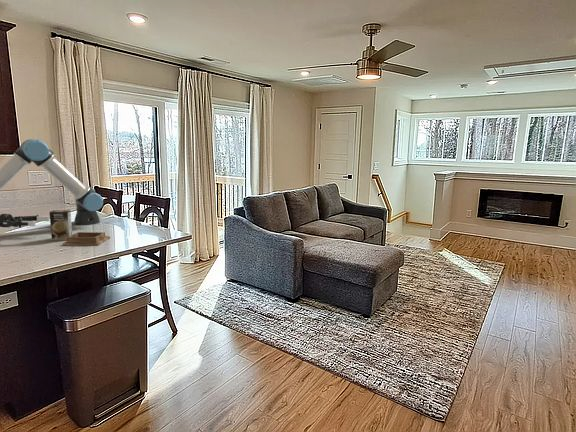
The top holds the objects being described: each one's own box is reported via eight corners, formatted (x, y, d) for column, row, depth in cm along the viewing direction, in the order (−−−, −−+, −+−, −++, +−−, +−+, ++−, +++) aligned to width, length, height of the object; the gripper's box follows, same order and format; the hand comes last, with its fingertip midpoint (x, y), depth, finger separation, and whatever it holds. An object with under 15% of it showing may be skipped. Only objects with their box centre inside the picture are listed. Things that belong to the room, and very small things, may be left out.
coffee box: (51, 240, 204) (48, 212, 201) (55, 237, 210) (52, 210, 207) (69, 240, 207) (67, 211, 203) (73, 237, 213) (70, 209, 210)
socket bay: (77, 237, 212) (77, 230, 211) (110, 238, 213) (109, 231, 212) (63, 245, 196) (62, 237, 195) (98, 245, 198) (97, 238, 197)
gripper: (17, 222, 217) (55, 223, 219) (-14, 232, 192) (29, 232, 194) (16, 210, 216) (54, 210, 217) (-16, 218, 191) (27, 218, 193)
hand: (42, 221), depth 206 cm, fingers open, 13 cm apart
